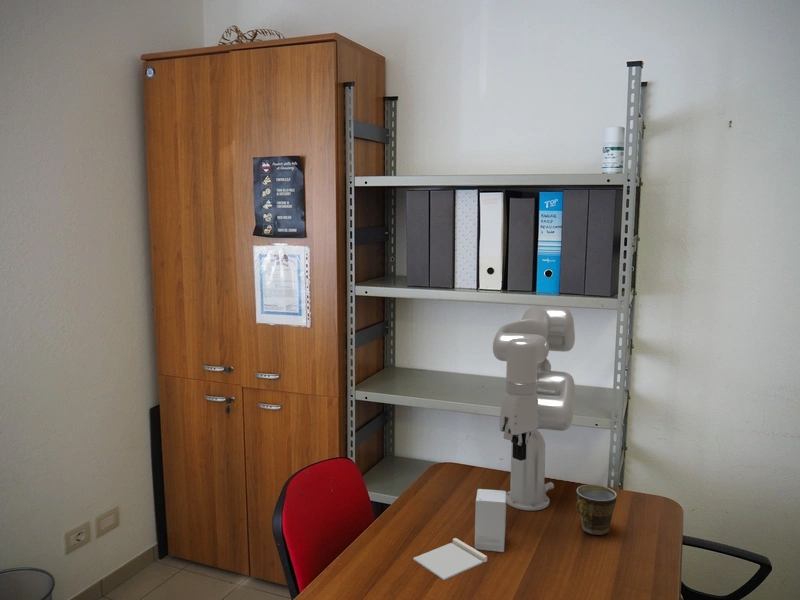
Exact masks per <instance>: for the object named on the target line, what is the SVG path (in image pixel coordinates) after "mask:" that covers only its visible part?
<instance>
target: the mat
mask: <svg viewBox="0 0 800 600" xmlns="http://www.w3.org/2000/svg"><path fill="white" fill-rule="evenodd" d="M412 560H413V561H415V562H416V563H418V564H419V565H421V566H422V567H424V568H425V569H426V570H428V571H429V572H431V573H433V574H434V575H435V576H437V577H439V578H440V579H441V580H443V581H446V580H448V579H450V578H452V577H455V576H457V575H460V574H461V573H464V572H466V571H468V570H470V569H473V568H475V567H477V566H479V565H482V564H483V563H484V562H482V561H481V560H479V559H477V558H476V557H474V556H472V555H471V554H469V553H467V552H466V551H464V550H462V549H461V548H459V547H457V546H456V545H454V544H453V542H450V543H447V544H445V545H442V546H440V547H438V548H435V549H432V550H430V551H428V552H425V553H422V554H420V555H417V556H414V557H413V558H412Z"/></svg>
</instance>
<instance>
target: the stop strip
mask: <svg viewBox="0 0 800 600" xmlns="http://www.w3.org/2000/svg"><path fill="white" fill-rule="evenodd" d="M452 544H454V545H456V546H457V547H459V548H461V549H462V550H464V551H466V552H467V553H469V554H471V555H472V556H474V557H476V558H477V559H479V560H481V561H482V562H483V563H486V562H488V556H487V555H485V554H484V553H482V552H481V551H478V549H475V547H472V546H470V545H468V544H467V543H466V542H463V541H462V540H460V539H458V538H457V537H454V538H452Z"/></svg>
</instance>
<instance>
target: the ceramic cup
mask: <svg viewBox="0 0 800 600" xmlns="http://www.w3.org/2000/svg"><path fill="white" fill-rule="evenodd" d="M617 497H618V495H617V492H616V491H615V490H613V489H611V488H609V487H607V486H604V485H599V484H583V485H580V486H578V487H577V488H576V498H577V502H576V503H575V510H576V512H577V513H578V514H580V521H581V526H582V529H583V532H585V533H589V534H590V535H599V536H603V535H604V534H607V533H609V531H610V527H611V523H612V520H613V514H614V511H615V508H616V503H617Z"/></svg>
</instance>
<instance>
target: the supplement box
mask: <svg viewBox="0 0 800 600" xmlns="http://www.w3.org/2000/svg"><path fill="white" fill-rule="evenodd" d="M506 493H507V491H506V490H501V489H498V490H497V489H484V488H478V489H477V490H476V498H475V511H474V512H475V514H474V516H475V518H474V549H476V550H481V551H488V552H489V551H490V552H500V553H504V552H505V539H506V522H507V517H506V516H507V515H506V514H507V503H506Z"/></svg>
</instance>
